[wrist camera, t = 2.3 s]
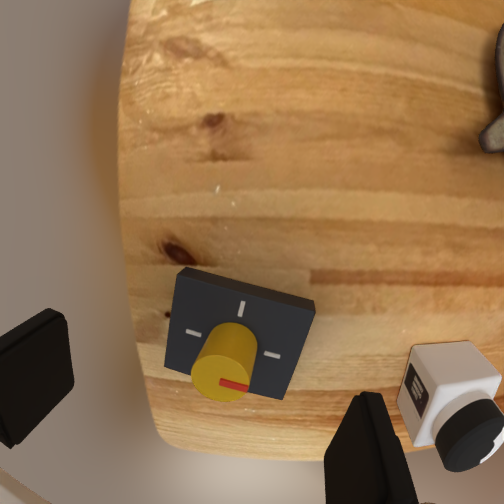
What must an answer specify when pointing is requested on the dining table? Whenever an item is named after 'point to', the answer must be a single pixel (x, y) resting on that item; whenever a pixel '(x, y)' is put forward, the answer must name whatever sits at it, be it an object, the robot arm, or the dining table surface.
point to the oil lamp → (500, 130)
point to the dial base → (242, 312)
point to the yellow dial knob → (225, 363)
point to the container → (452, 403)
